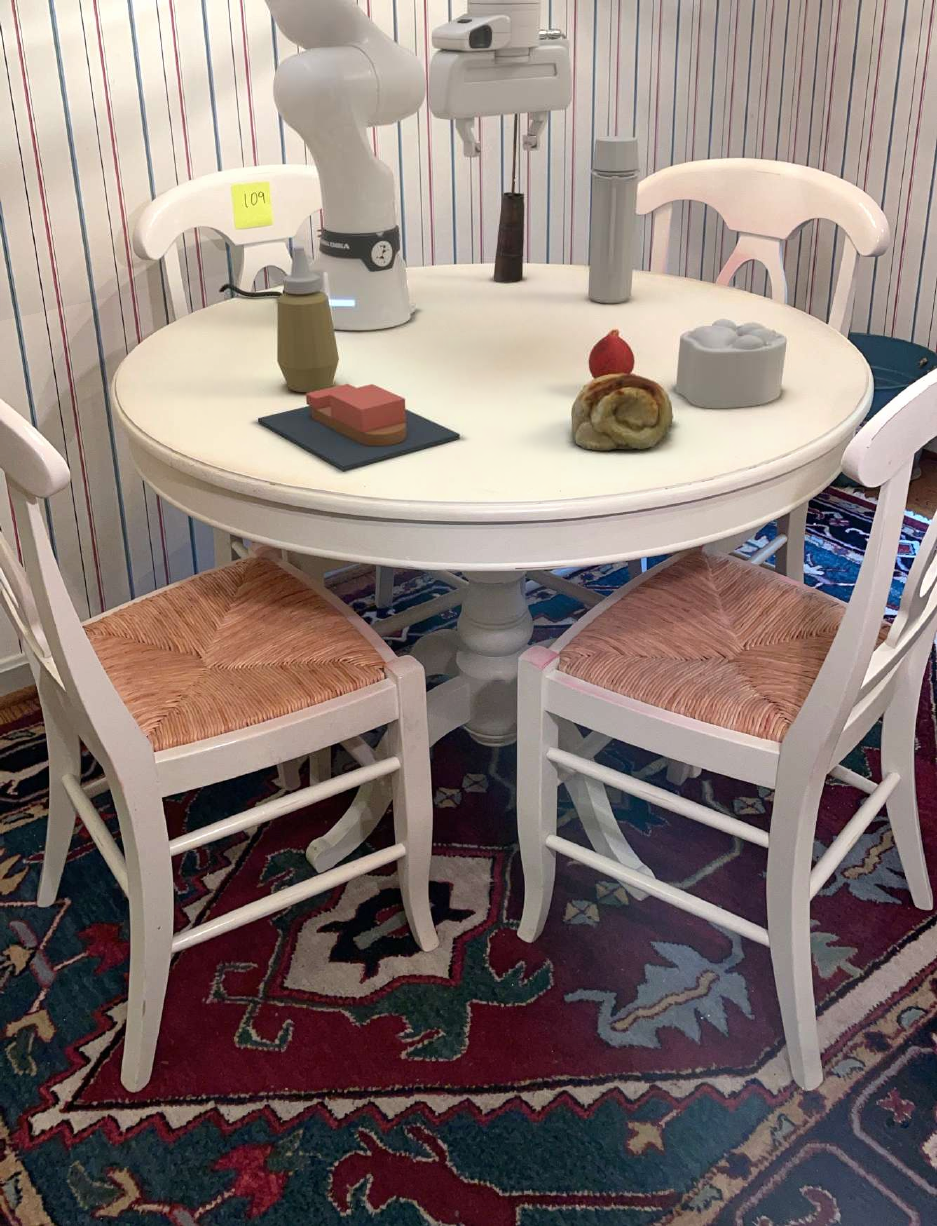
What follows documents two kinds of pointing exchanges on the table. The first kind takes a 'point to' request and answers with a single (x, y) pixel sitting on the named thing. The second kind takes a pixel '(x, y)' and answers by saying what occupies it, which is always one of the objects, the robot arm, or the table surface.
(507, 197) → the butter churn
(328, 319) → the squeeze bottle
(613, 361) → the onion
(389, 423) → the slipper
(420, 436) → the mat
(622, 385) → the pastry
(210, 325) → the table surface
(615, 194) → the water bottle
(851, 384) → the table surface
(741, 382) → the lumpy-topped squat cylinder
